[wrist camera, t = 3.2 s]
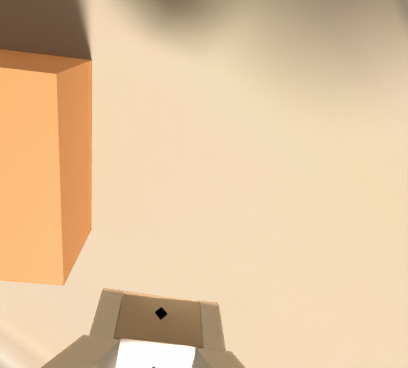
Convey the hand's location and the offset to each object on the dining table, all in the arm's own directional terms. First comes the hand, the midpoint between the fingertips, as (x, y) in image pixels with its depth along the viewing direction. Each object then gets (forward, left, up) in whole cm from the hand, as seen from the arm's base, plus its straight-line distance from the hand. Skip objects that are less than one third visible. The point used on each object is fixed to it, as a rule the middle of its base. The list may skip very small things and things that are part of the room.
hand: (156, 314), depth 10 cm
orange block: (+7, 0, -11) cm, 13 cm away
